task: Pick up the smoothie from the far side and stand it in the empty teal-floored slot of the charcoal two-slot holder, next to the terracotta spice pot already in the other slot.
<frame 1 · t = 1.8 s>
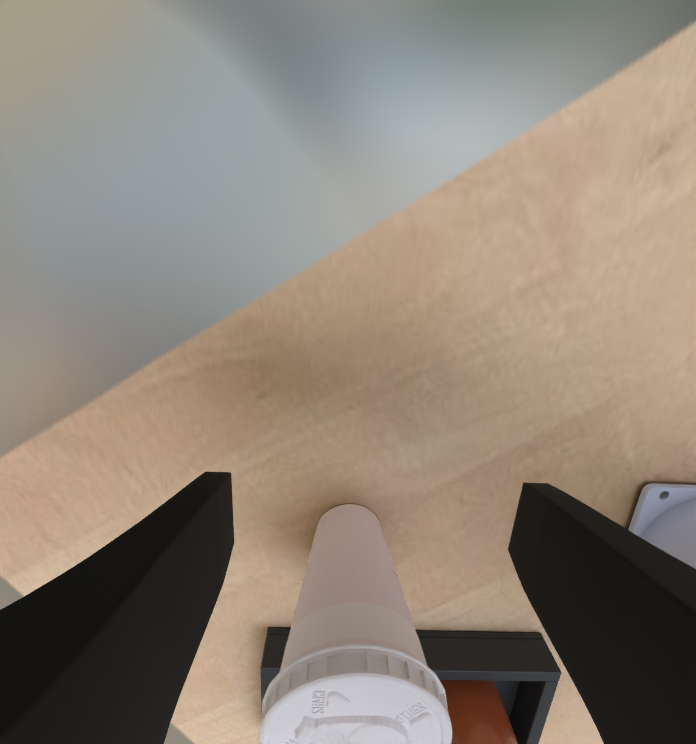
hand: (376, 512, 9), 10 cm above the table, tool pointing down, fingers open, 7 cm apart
holder: (399, 680, 25), on the table
spice pot: (462, 687, 25), resting on holder
smoothie: (348, 529, 21), on the table
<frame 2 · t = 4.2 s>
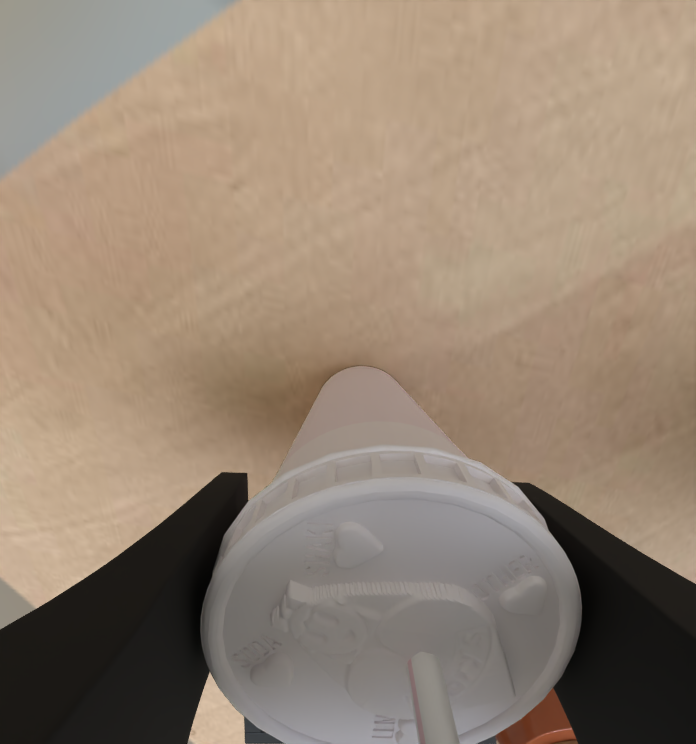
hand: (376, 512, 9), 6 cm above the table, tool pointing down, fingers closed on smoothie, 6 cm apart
holder: (425, 628, 19), on the table
spice pot: (508, 637, 19), resting on holder
smoothie: (360, 407, 16), on the table, touching gripper
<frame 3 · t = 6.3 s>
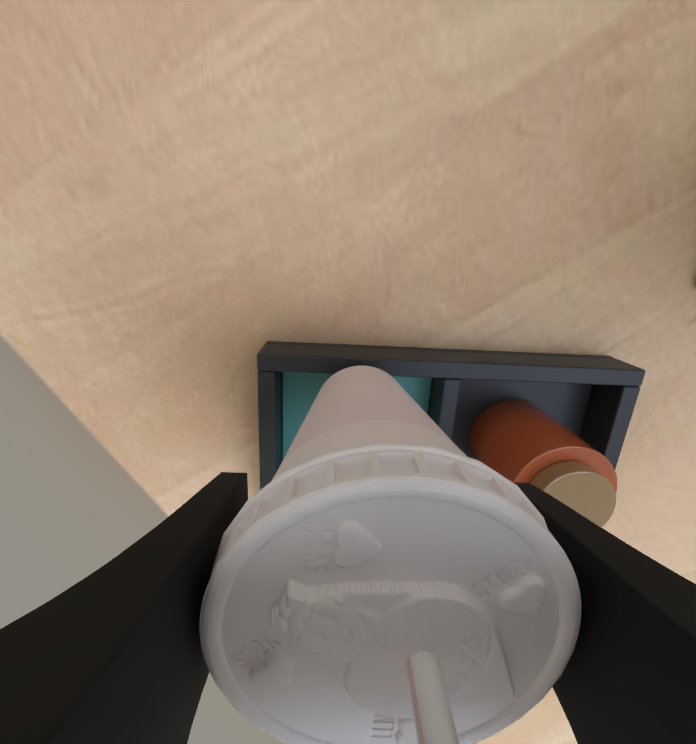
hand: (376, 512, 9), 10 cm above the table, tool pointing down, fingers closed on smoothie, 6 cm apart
holder: (430, 430, 20), on the table
spice pot: (509, 436, 20), resting on holder
smoothie: (360, 406, 16), point 4 cm above the table, touching gripper
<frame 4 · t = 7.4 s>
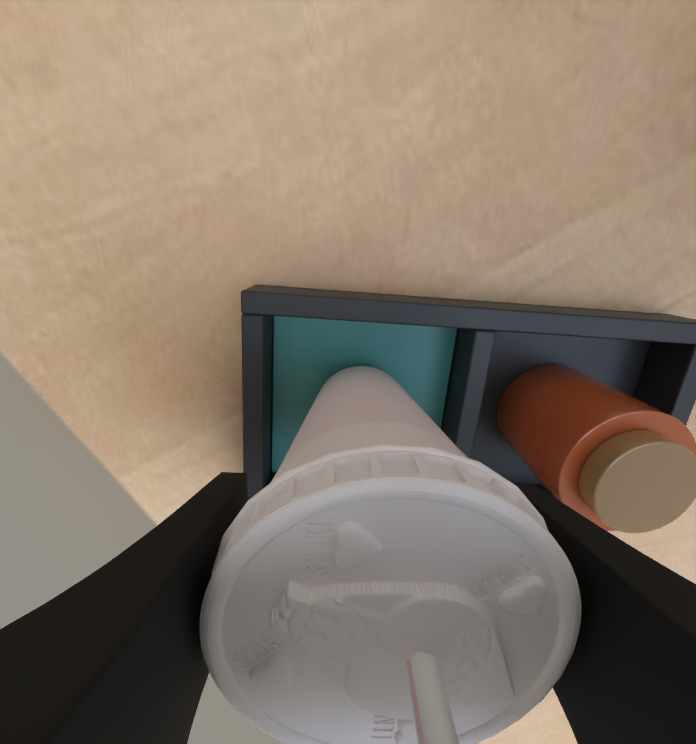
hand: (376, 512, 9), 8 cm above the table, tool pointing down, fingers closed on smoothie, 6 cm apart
holder: (450, 402, 17), on the table
spice pot: (545, 410, 17), resting on holder
smoothie: (360, 407, 16), point 1 cm above the table, touching gripper
when the fingers open (7 cm above the table, at t = 8.3 s): smoothie stays where it is, resting on holder.
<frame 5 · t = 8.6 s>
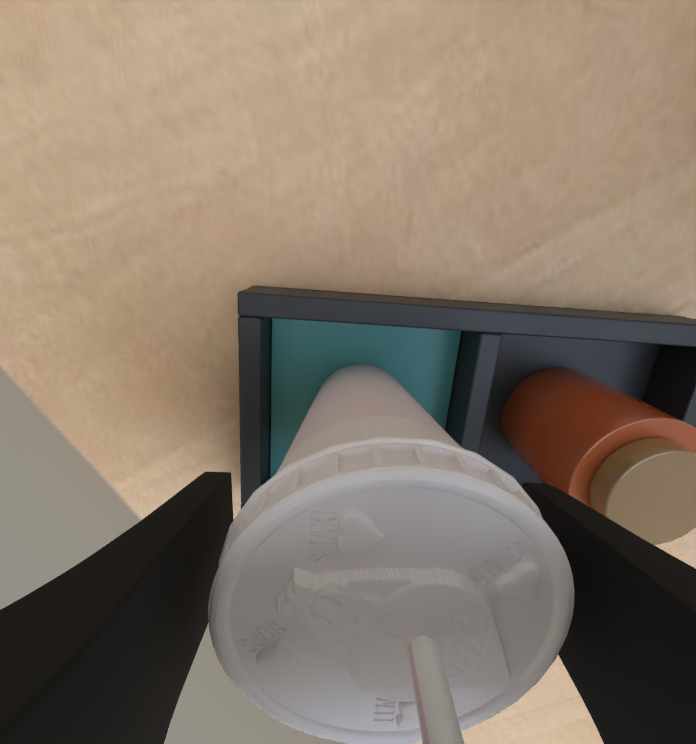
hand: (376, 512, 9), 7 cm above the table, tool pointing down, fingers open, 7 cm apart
holder: (454, 406, 16), on the table
spice pot: (551, 415, 16), resting on holder
smoothie: (359, 404, 16), resting on holder
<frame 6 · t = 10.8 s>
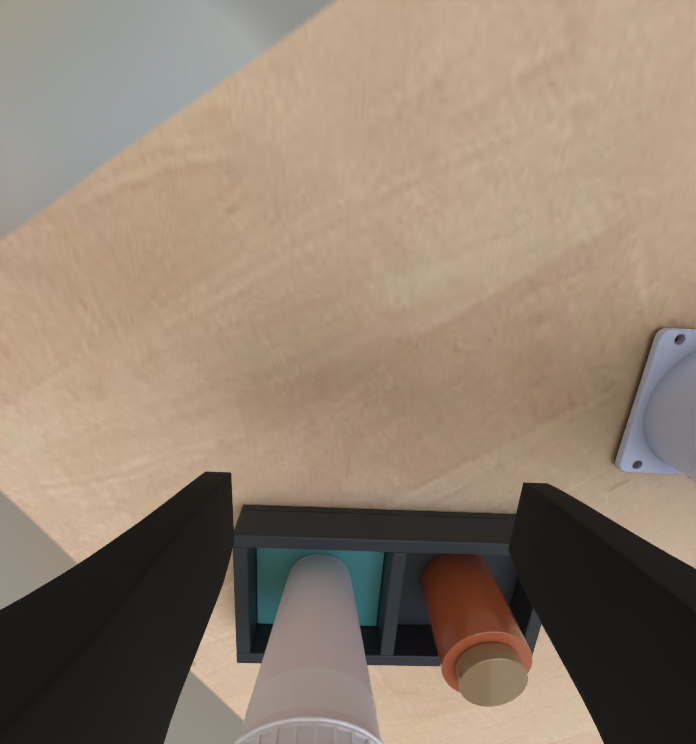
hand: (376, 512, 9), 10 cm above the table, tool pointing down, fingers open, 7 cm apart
holder: (387, 572, 23), on the table
spice pot: (456, 579, 23), resting on holder
smoothie: (319, 575, 22), resting on holder
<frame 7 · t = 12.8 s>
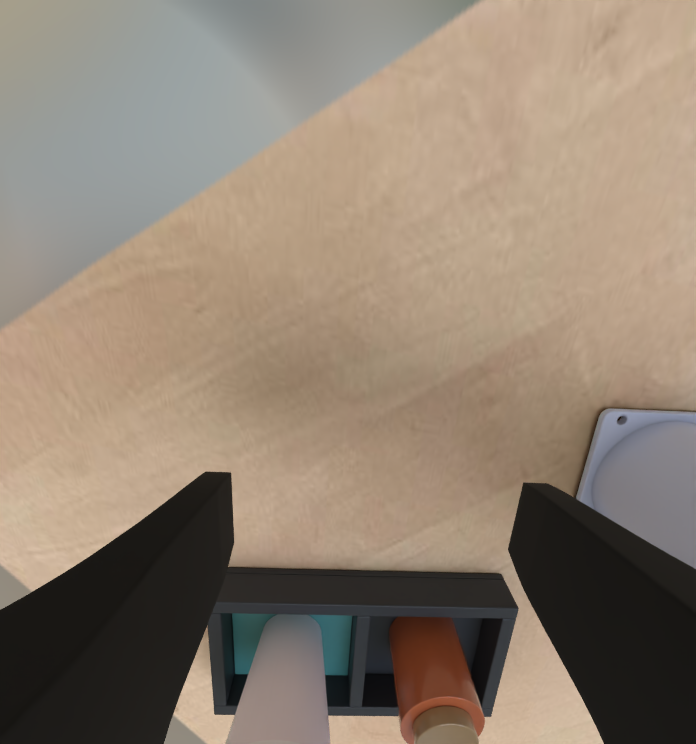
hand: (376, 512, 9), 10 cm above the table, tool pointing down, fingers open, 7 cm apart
holder: (357, 625, 24), on the table
spice pot: (422, 632, 24), resting on holder
smoothie: (292, 630, 24), resting on holder
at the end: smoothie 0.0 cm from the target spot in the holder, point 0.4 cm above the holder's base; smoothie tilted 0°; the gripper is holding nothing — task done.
